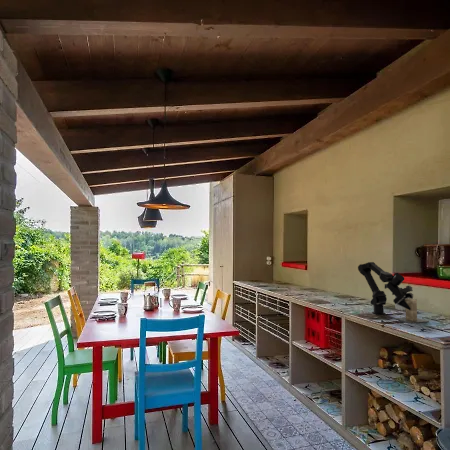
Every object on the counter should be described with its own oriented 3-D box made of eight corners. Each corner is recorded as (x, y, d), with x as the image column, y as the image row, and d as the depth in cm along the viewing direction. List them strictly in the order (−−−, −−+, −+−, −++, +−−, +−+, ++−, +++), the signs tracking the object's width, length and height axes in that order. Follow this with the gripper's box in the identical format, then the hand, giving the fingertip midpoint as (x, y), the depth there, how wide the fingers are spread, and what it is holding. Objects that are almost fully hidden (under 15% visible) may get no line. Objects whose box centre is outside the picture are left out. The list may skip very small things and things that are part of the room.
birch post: (405, 319, 232) (405, 299, 233) (409, 318, 236) (408, 298, 236) (414, 320, 229) (413, 300, 229) (417, 319, 232) (416, 299, 233)
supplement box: (403, 308, 272) (403, 291, 273) (410, 310, 265) (410, 293, 265) (394, 309, 271) (394, 292, 271) (401, 310, 263) (401, 293, 264)
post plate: (394, 318, 237) (394, 312, 237) (412, 317, 241) (411, 311, 241) (410, 323, 224) (410, 316, 224) (429, 322, 227) (429, 315, 228)
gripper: (397, 282, 230) (416, 302, 221) (409, 280, 242) (428, 298, 234) (385, 294, 236) (403, 313, 227) (398, 291, 248) (415, 309, 239)
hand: (413, 308), depth 232 cm, fingers open, 9 cm apart
